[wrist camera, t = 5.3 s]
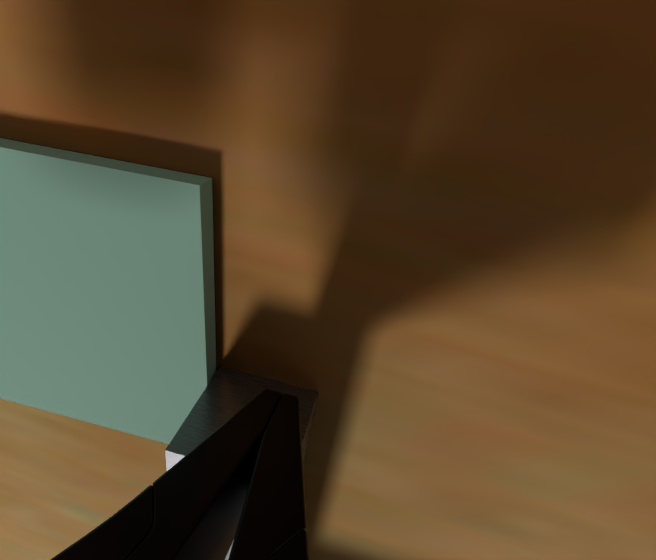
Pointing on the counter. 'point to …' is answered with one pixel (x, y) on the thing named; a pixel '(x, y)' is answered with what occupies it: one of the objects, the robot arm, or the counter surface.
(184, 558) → the robot arm
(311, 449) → the counter surface
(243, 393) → the bar
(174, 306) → the coaster
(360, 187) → the counter surface
